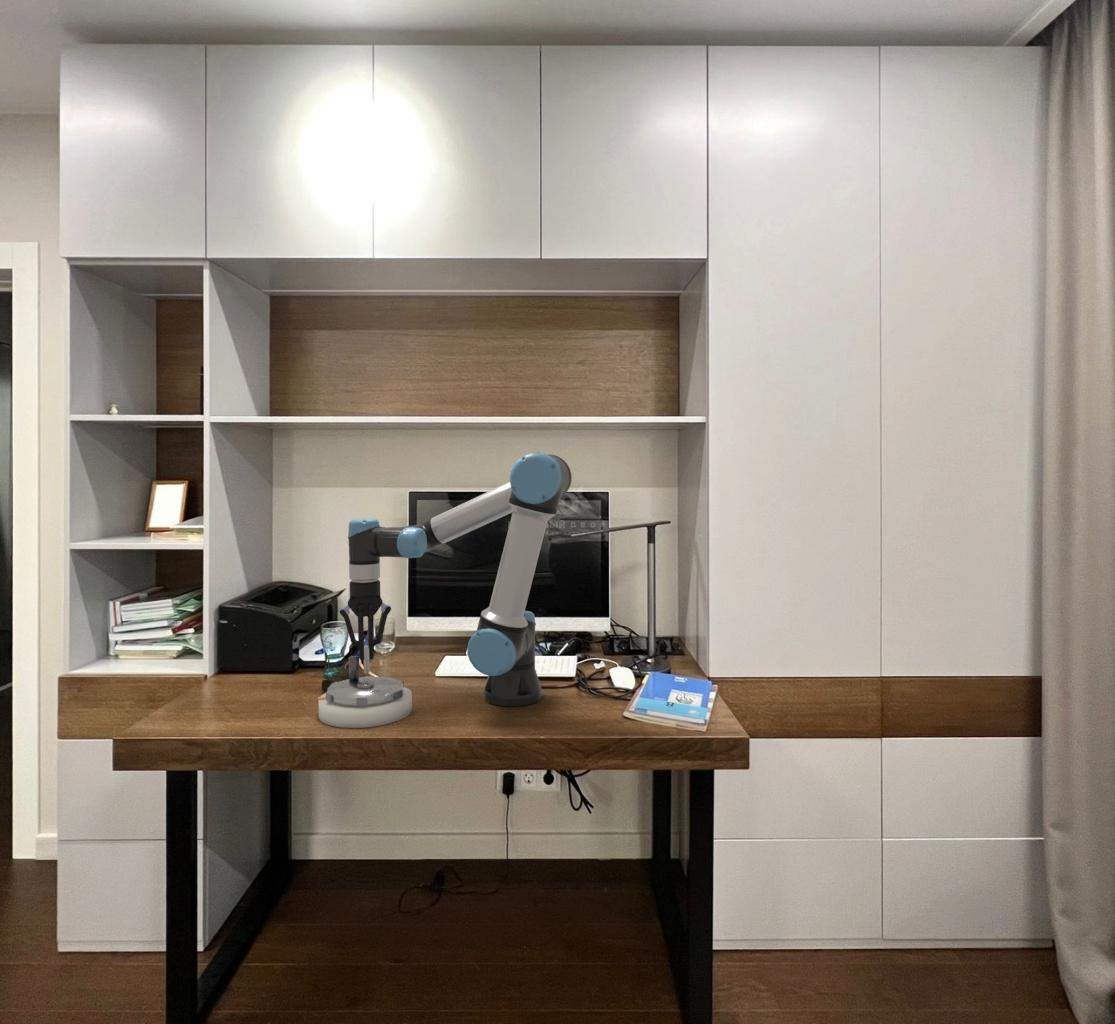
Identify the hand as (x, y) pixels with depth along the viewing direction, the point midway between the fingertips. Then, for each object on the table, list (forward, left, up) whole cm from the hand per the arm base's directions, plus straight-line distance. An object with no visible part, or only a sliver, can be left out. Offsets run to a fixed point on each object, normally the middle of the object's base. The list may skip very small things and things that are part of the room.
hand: (366, 671), depth 179 cm
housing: (-4, +6, -8) cm, 11 cm away
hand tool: (+17, -14, -9) cm, 23 cm away
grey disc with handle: (-4, +6, -4) cm, 8 cm away
